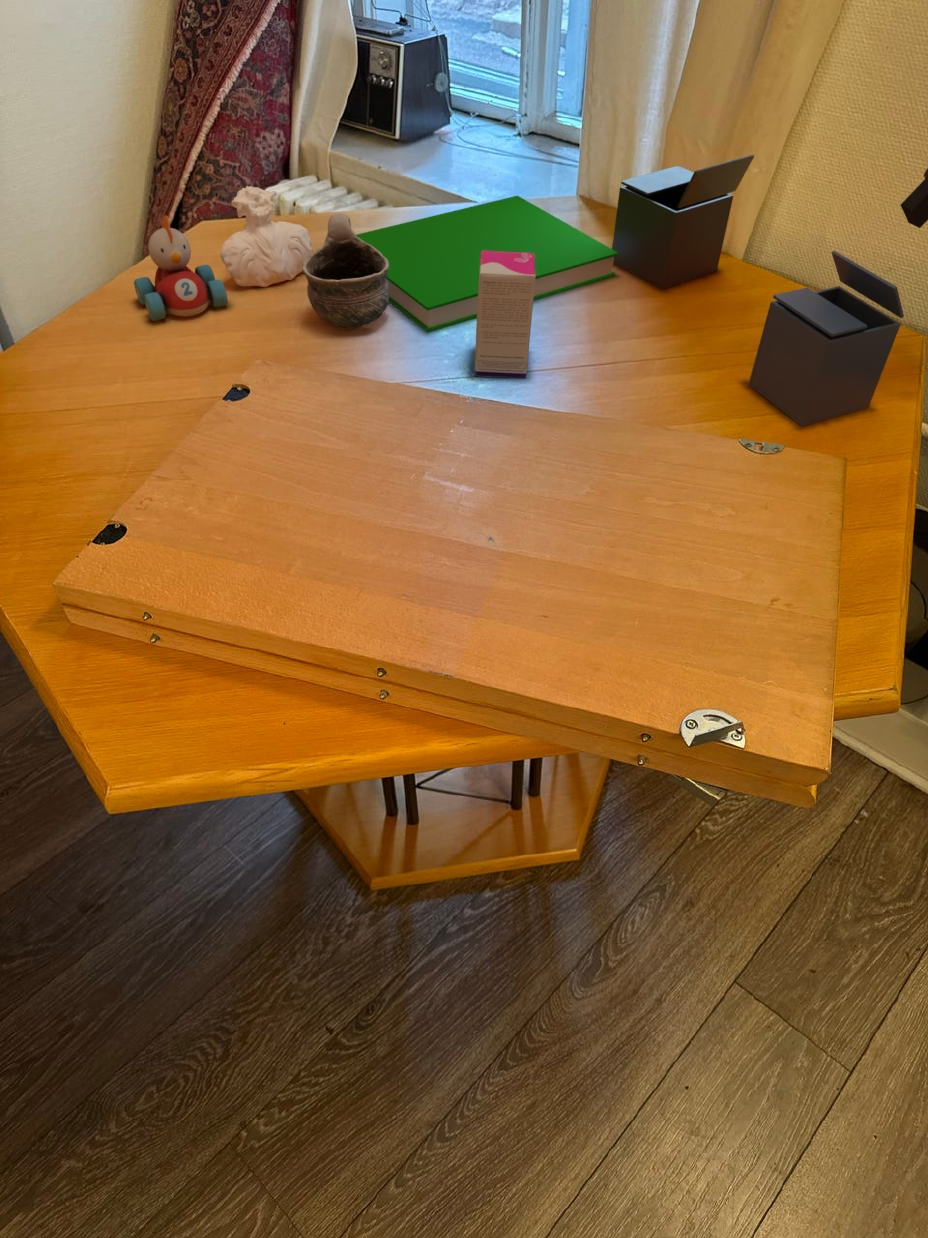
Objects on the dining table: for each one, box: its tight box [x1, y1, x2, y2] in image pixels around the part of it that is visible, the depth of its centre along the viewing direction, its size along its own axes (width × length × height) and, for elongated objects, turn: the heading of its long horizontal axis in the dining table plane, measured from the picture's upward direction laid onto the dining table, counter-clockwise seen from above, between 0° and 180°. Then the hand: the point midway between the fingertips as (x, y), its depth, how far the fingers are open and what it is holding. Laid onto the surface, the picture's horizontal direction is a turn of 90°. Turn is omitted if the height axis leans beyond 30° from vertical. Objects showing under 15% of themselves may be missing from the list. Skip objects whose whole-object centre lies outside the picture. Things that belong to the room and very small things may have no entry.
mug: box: [302, 213, 389, 329], centre depth 102 cm, size 10×12×10 cm
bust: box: [219, 185, 313, 288], centre depth 110 cm, size 12×8×11 cm
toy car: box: [133, 215, 229, 322], centre depth 104 cm, size 9×9×10 cm
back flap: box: [677, 154, 755, 208], centre depth 104 cm, size 5×10×1 cm
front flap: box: [831, 250, 905, 319], centre depth 87 cm, size 4×9×1 cm
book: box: [355, 195, 618, 333], centre depth 114 cm, size 22×28×3 cm
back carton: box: [611, 165, 734, 291], centre depth 113 cm, size 10×10×10 cm
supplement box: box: [473, 250, 535, 379], centre depth 94 cm, size 6×6×12 cm
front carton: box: [747, 285, 902, 427], centre depth 91 cm, size 9×9×10 cm
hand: (910, 216), depth 83 cm, fingers closed
